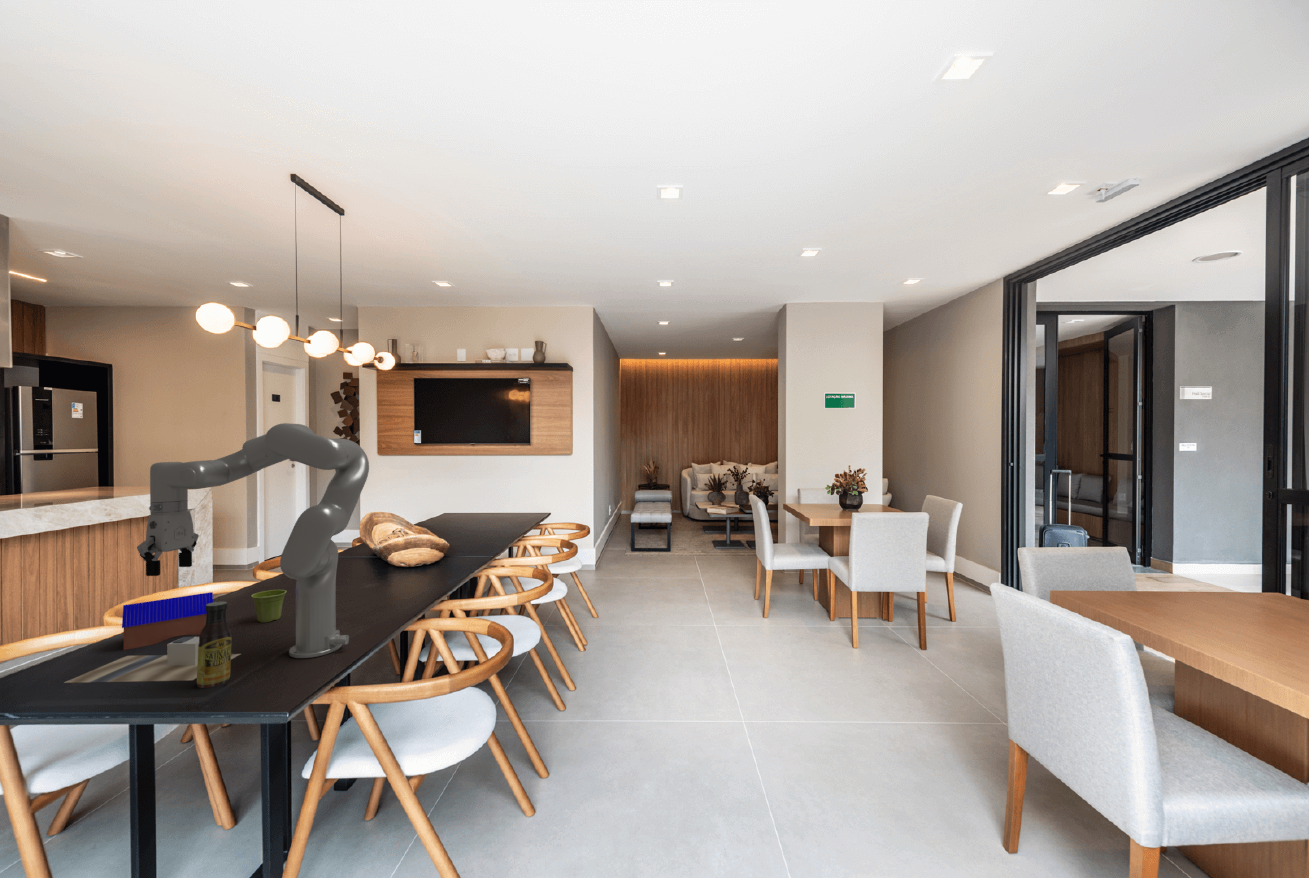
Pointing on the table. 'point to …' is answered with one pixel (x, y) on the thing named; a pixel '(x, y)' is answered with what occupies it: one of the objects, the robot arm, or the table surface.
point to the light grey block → (183, 651)
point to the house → (164, 619)
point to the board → (140, 670)
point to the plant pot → (269, 604)
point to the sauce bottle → (214, 647)
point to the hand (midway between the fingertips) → (169, 571)
